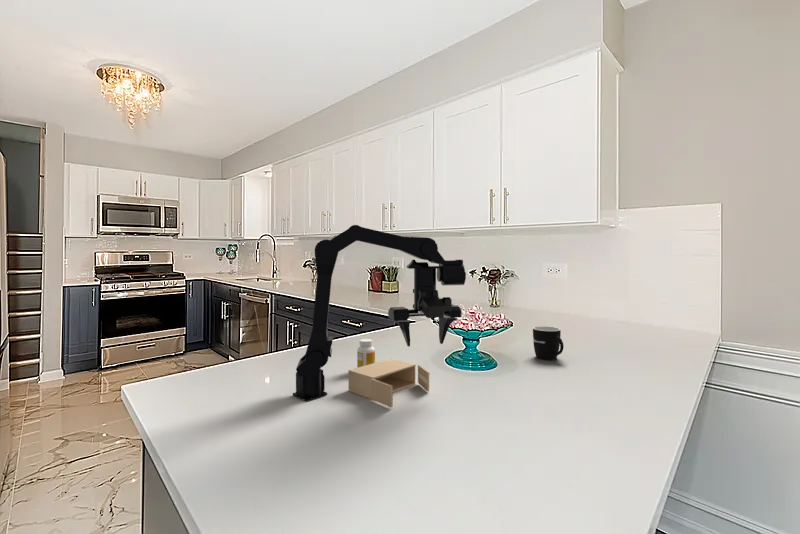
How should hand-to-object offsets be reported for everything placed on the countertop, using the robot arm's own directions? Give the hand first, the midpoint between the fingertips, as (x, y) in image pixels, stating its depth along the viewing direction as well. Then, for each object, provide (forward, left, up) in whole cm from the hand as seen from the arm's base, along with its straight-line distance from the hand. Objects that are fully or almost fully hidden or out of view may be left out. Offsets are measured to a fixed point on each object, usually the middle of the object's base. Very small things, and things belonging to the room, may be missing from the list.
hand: (425, 344), depth 111 cm
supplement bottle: (+1, +24, -12) cm, 27 cm away
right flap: (+1, +1, -12) cm, 12 cm away
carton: (-6, +10, -12) cm, 16 cm away
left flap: (-15, +1, -12) cm, 19 cm away
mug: (+53, -11, -12) cm, 56 cm away
